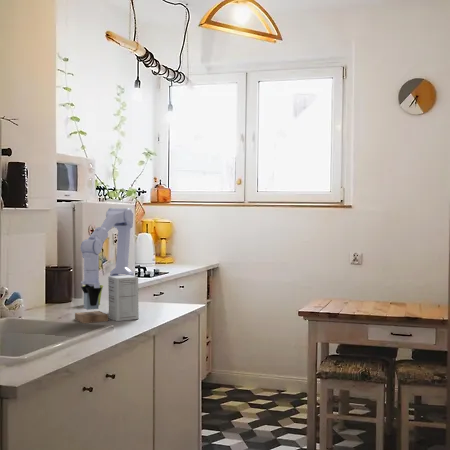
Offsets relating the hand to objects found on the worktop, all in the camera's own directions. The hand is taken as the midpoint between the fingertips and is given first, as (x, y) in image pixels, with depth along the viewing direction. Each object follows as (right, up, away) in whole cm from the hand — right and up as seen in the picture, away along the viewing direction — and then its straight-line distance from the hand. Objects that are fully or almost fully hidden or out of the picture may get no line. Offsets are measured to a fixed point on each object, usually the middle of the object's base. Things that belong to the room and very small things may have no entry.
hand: (91, 304), depth 244 cm
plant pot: (-8, -6, +43) cm, 44 cm away
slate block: (0, -2, 0) cm, 2 cm away
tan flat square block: (0, -7, 0) cm, 6 cm away
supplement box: (+12, -6, +4) cm, 14 cm away
